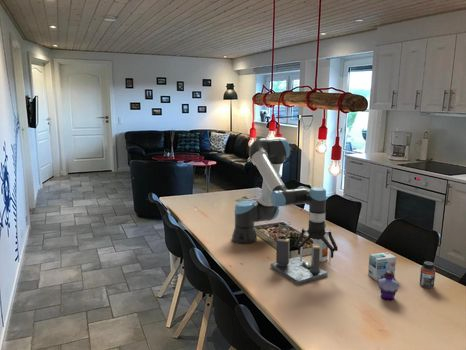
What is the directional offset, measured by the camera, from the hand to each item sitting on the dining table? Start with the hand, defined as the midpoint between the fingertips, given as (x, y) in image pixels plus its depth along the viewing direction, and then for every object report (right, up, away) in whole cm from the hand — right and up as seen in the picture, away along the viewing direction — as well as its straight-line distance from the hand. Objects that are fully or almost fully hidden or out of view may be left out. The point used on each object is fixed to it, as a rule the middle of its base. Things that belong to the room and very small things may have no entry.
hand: (315, 262), depth 187 cm
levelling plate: (-7, -6, +5) cm, 11 cm away
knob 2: (0, -5, +1) cm, 5 cm away
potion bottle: (+27, -11, -20) cm, 35 cm away
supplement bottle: (+49, -9, -10) cm, 51 cm away
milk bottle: (+7, -3, +20) cm, 21 cm away
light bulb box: (+32, -7, 0) cm, 33 cm away
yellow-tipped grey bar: (-15, -3, +9) cm, 17 cm away
